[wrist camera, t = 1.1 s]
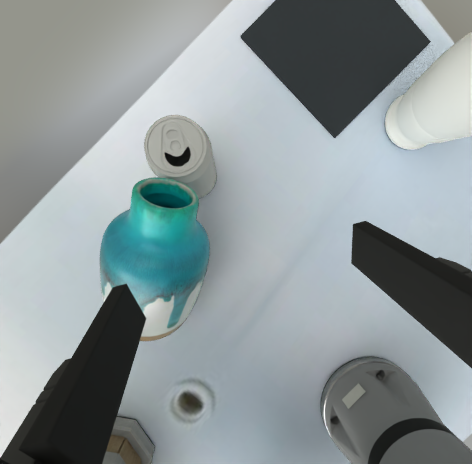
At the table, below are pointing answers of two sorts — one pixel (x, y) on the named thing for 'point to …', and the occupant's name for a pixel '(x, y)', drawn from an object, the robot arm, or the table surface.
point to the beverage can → (181, 153)
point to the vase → (157, 254)
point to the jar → (435, 102)
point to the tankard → (128, 444)
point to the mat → (335, 52)
